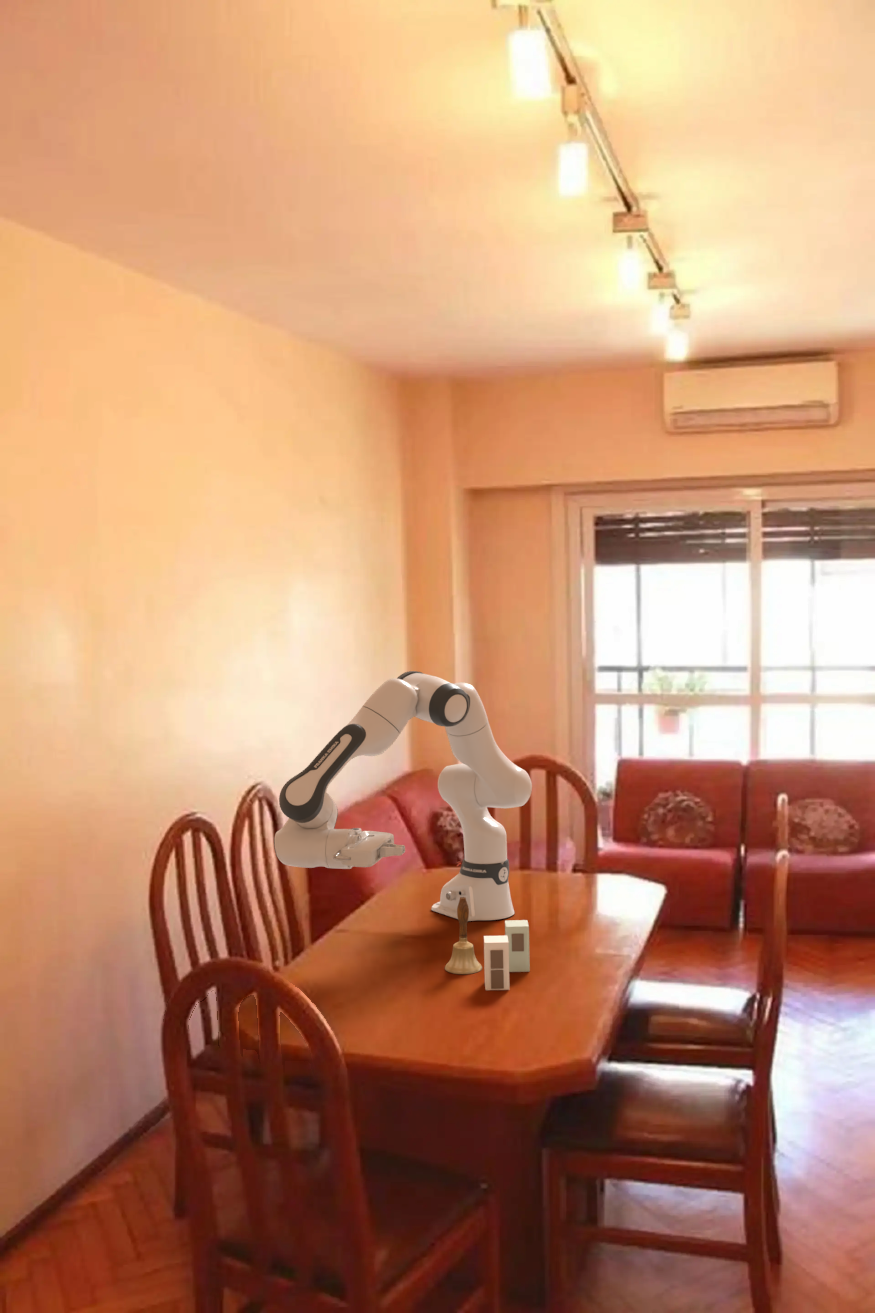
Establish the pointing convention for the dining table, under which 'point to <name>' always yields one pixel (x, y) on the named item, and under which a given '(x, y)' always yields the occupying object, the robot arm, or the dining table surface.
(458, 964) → the hand bell
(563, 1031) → the dining table surface
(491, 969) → the cream block marked
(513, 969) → the sage block marked
